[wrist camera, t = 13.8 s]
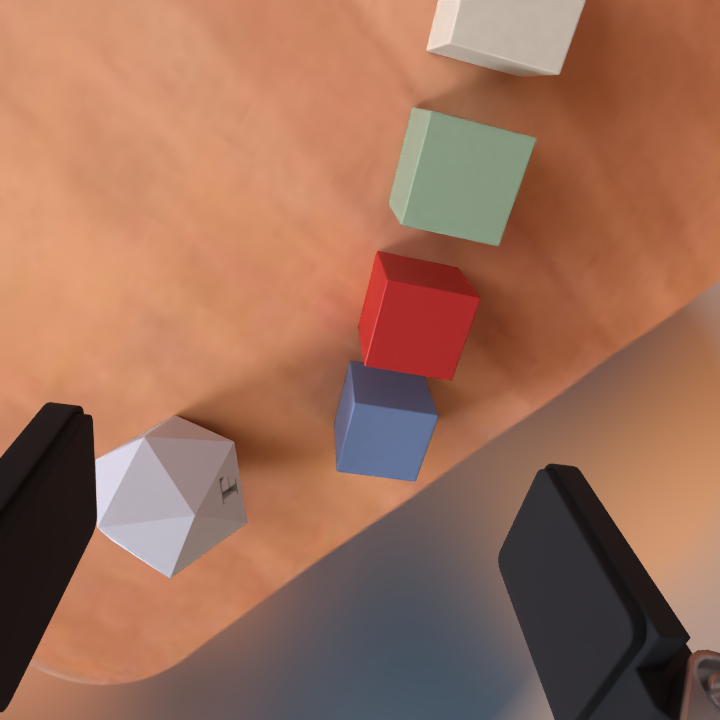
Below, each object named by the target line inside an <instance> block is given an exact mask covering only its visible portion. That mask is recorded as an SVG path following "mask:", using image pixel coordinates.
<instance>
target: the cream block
mask: <svg viewBox="0 0 720 720" xmlns="http://www.w3.org/2000/svg"><path fill="white" fill-rule="evenodd" d="M585 2H586V0H438V4H437V8H436V12H435V16H434V20H433V24H432V28H431V32H430V36H429V40H428V44H427V49H426V50H427V51H428V52H431V53H435V54H439V55H442V56H446V57H449V58H453V59H457V60H460V61H464V62H467V63H471V64H475V65H478V66H482V67H485V68H489V69H493V70H496V71H500V72H503V73H507V74H511V75H514V76H518V77H521V76H542V75H559V74H560V72H561V69H562V67H563V64H564V61H565V58H566V55H567V52H568V50H569V47H570V44H571V41H572V38H573V36H574V33H575V30H576V27H577V24H578V21H579V19H580V16H581V13H582V10H583V7H584V4H585Z"/></svg>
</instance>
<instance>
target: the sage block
mask: <svg viewBox="0 0 720 720" xmlns="http://www.w3.org/2000/svg"><path fill="white" fill-rule="evenodd" d="M536 140H537V138H536V137H532V136H528V135H525V134H521V133H517V132H513V131H509V130H505V129H501V128H497V127H494V126H490V125H486V124H482V123H478V122H474V121H470V120H466V119H463V118H459V117H455V116H451V115H447V114H443V113H439V112H435V111H431V110H427V109H422V108H417V107H412V109H411V113H410V118H409V122H408V126H407V130H406V134H405V138H404V142H403V146H402V150H401V154H400V158H399V162H398V166H397V170H396V174H395V178H394V183H393V187H392V191H391V195H390V199H389V206H390V207H391V209H392V211H393V212H394V214H395V216H396V217H397V219H398V220H399V222H400V224H401V225H402V226H407V227H411V228H416V229H421V230H425V231H430V232H434V233H439V234H444V235H448V236H453V237H457V238H462V239H467V240H471V241H476V242H481V243H485V244H490V245H494V246H499V244H500V242H501V239H502V236H503V233H504V230H505V227H506V225H507V222H508V219H509V216H510V213H511V211H512V208H513V205H514V202H515V199H516V196H517V194H518V191H519V188H520V185H521V182H522V179H523V177H524V174H525V171H526V168H527V165H528V162H529V160H530V157H531V154H532V151H533V148H534V146H535V143H536Z"/></svg>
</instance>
